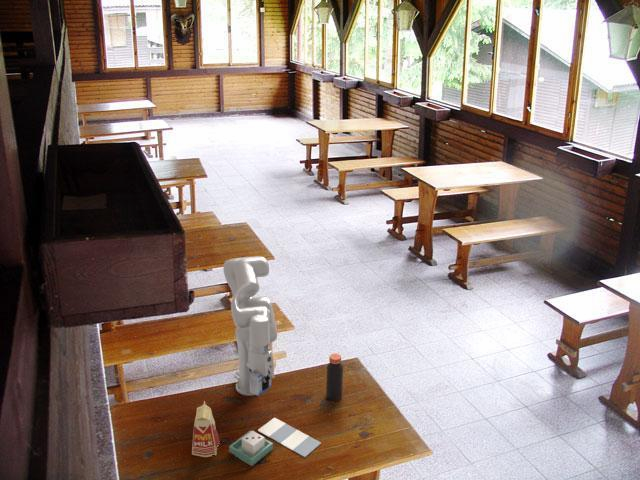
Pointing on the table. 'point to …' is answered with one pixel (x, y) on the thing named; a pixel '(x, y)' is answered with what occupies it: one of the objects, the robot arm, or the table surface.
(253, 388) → the medicine box
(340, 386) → the bottle
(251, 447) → the die
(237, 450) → the dice tray
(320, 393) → the table surface
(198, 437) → the milk carton
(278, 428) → the track
